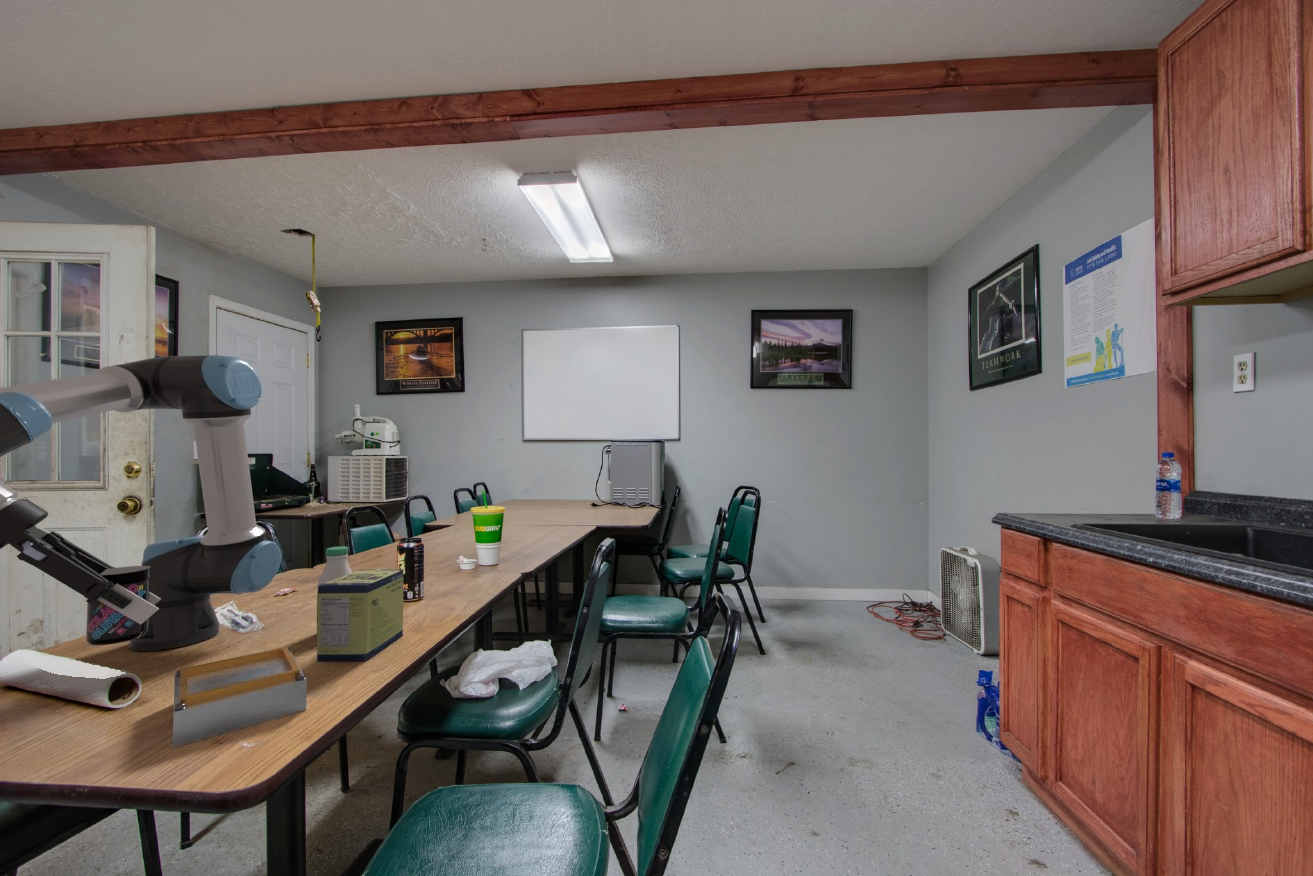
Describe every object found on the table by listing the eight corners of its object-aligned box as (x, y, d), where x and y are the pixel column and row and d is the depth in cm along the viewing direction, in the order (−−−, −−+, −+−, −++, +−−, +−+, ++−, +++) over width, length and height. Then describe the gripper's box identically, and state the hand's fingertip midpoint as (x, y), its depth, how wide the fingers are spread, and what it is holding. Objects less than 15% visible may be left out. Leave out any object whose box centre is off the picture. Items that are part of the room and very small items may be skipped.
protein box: (403, 635, 120) (404, 568, 121) (366, 662, 105) (367, 584, 105) (359, 636, 120) (360, 568, 121) (315, 662, 105) (316, 585, 105)
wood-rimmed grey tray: (174, 704, 87) (174, 667, 87) (289, 676, 98) (289, 643, 98) (172, 748, 74) (173, 703, 74) (306, 710, 85) (306, 671, 85)
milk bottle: (333, 626, 127) (334, 544, 128) (362, 627, 126) (363, 545, 127) (308, 637, 120) (309, 550, 120) (338, 638, 119) (339, 550, 119)
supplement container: (70, 648, 75) (73, 576, 76) (112, 632, 82) (114, 566, 83) (123, 645, 76) (125, 574, 77) (160, 630, 83) (162, 565, 84)
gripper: (-20, 530, 77) (131, 617, 87) (-69, 546, 62) (120, 649, 73) (36, 492, 81) (175, 580, 91) (3, 499, 66) (173, 603, 76)
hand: (151, 610), depth 82 cm, fingers closed on supplement container, 7 cm apart
